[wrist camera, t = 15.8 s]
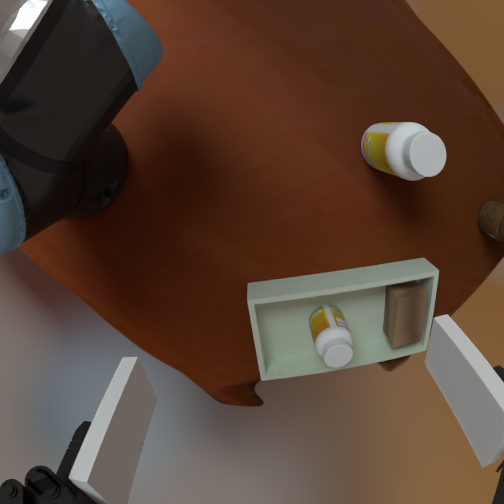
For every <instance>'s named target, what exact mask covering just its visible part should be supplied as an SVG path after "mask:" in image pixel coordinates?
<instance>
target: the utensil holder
mask: <svg viewBox="0 0 504 504" xmlns="http://www.w3.org/2000/svg"><path fill="white" fill-rule="evenodd" d="M478 221H479V226H480V228H481V230H482V231H483V232H484V233H485V234H487V235H489V236H490V237H492V238H494V239H496V240H498V241H501V242H504V204H502V203H499V202H497V201H488V202H486V203H485V204H484V205H483V206H482V208H481V210H480V212H479V218H478Z"/></svg>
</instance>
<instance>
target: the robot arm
mask: <svg viewBox="0 0 504 504" xmlns="http://www.w3.org/2000/svg"><path fill="white" fill-rule="evenodd" d="M162 50H163V49H162V44H161V42H160V40H159V38H158V36H157V35H156V33H155V32H154V30H153V29H152V28H151V27H150V25H149V24H148V23H147V22H146V21H145V20H144V18H143V17H142V16H141V15H140V14H139V13H138V12H137V11H136V10H135V9H134V8H133V7H132V6H131V5H130V4H129V3H128V2H127V1H126V0H0V254H3V253H5V252H7V251H10V250H12V249H15V248H17V247H19V246H20V245H21V244H22V243H23V242H25V241H26V240H28V239H29V238H31V237H33V236H34V235H36V234H37V233H39V232H41V231H42V230H44V229H46V228H47V227H49V226H51V225H52V224H54V223H56V222H57V221H59V220H61V219H63V218H75V219H81V218H87V217H91V216H93V215H95V214H97V213H99V212H101V211H102V210H104V209H106V208H107V207H108V206H110V205H111V204H112V203H113V202H114V201H115V199H116V198H117V197H118V195H119V194H120V192H121V190H122V188H123V185H124V183H125V179H126V175H127V167H128V159H127V151H126V147H125V144H124V141H123V139H122V137H121V135H120V133H119V132H118V130H117V129H116V128H115V126H114V125H113V124H112V123H111V122H112V121H113V119H114V118H115V117H116V115H117V114H118V113H119V111H120V110H121V109H122V108H123V106H124V105H125V104H126V102H127V101H128V100H129V99H130V97H131V96H132V95H133V94H134V93H135V91H136V92H138V91H139V90H140V89H141V87H142V83H143V82H144V81H145V79H146V78H147V77H148V75H149V74H150V73H151V72H152V71H153V69H154V68H155V67H156V66H157V65H158V63H159V62H160V60H161V57H162ZM425 365H426V367H427V369H428V370H429V372H430V373H431V375H432V377H433V379H434V380H435V382H436V384H437V385H438V387H439V389H440V390H441V392H442V394H443V395H444V397H445V399H446V401H447V402H448V404H449V406H450V408H451V409H452V411H453V413H454V415H455V417H456V418H457V420H458V422H459V424H460V426H461V428H462V429H463V431H464V433H465V435H466V437H467V439H468V440H469V443H470V444H471V446H472V448H473V450H474V452H475V454H476V456H477V458H478V460H479V462H480V464H481V466H482V468H483V467H485V466H487V465H489V464H491V463H493V462H495V461H497V460H498V459H499V457H500V456H501V455H502V453H503V452H504V369H503V368H502V367H500V366H496V367H494V368H492V367H491V366H490V364H489V363H488V362H487V361H486V359H485V358H484V357H483V356H482V354H481V353H480V352H479V351H478V349H477V348H476V347H475V346H474V345H473V343H472V342H471V341H470V340H469V339H468V337H467V336H466V335H465V334H464V333H463V332H462V330H461V329H460V328H459V327H458V326H457V325H456V324H455V322H454V321H453V320H452V319H451V318H450V317H449V315H448V314H447V315H443V316H439V317H435V318H434V320H433V325H432V331H431V336H430V341H429V346H428V351H427V355H426V359H425ZM156 400H157V398H156V396H155V394H154V392H153V390H152V388H151V385H150V383H149V381H148V379H147V377H146V374H145V372H144V370H143V368H142V366H141V363H140V361H139V358H138V357H123V358H122V360H121V362H120V364H119V366H118V368H117V370H116V373H115V374H114V376H113V378H112V380H111V383H110V385H109V387H108V389H107V391H106V393H105V395H104V397H103V399H102V401H101V404H100V406H99V408H98V410H97V412H96V414H95V417H94V419H93V421H92V422H88V421H84V422H83V423H82V424H81V426H79V427H78V428H77V429H76V431H75V433H74V435H73V438H72V441H71V442H70V444H69V446H68V448H69V449H67V451H66V453H65V455H64V457H63V460H62V462H61V464H60V466H59V469H58V471H57V474H55V473H54V472H52V471H51V469H49V468H48V467H46V466H36V467H34V468H32V469H30V471H29V472H28V473H27V474H26V477H25V486H23V485H22V484H21V483H20V482H19V481H17V480H15V479H9V480H6V481H5V482H4V483H3V484H2V485H1V487H0V504H127V502H128V498H129V494H130V491H131V487H132V483H133V480H134V475H135V472H136V469H137V465H138V461H139V458H140V454H141V451H142V447H143V444H144V440H145V437H146V433H147V430H148V427H149V423H150V420H151V416H152V413H153V410H154V407H155V403H156ZM501 468H502V471H501V475H500V479H499V482H498V486H497V489H496V493H495V496H494V499H493V502H492V504H504V460H503V462H502V463H501V464H500V466H499V467H498V468H497V471H496V472H499V471H500V469H501Z"/></svg>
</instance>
